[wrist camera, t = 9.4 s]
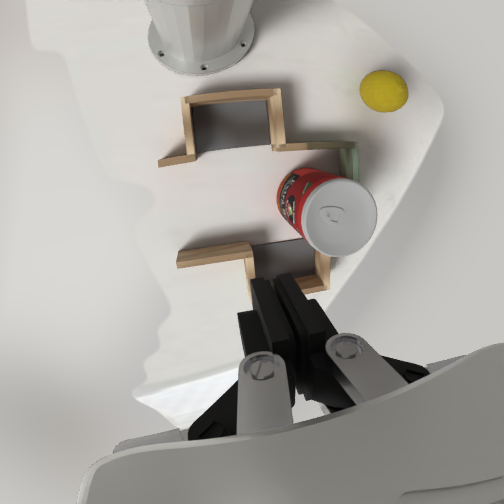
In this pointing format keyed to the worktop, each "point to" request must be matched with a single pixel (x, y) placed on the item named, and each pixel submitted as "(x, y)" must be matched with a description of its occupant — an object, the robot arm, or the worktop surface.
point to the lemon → (384, 91)
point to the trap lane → (257, 133)
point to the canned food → (328, 210)
